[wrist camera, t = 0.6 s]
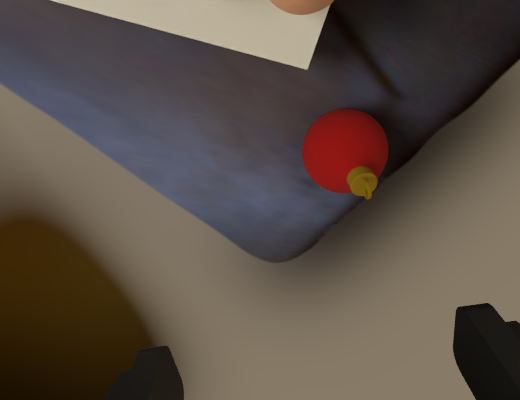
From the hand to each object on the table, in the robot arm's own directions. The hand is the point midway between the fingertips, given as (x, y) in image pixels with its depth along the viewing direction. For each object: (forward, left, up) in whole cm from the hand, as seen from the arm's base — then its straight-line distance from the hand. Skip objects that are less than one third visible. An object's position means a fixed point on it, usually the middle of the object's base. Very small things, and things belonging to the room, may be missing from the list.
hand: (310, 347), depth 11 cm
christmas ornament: (+10, -3, -25) cm, 27 cm away
